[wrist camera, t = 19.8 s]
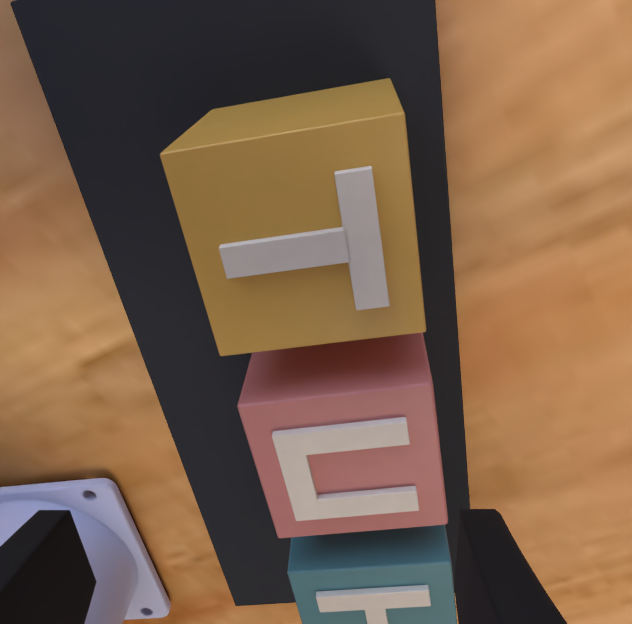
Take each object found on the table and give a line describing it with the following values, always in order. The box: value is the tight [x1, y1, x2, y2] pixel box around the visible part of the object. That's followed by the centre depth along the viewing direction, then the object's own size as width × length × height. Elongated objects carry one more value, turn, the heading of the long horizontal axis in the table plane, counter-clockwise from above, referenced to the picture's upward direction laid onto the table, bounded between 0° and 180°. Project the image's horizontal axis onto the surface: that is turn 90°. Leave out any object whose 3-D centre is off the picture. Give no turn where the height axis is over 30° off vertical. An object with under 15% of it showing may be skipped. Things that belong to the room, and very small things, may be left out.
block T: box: [160, 78, 426, 356], centre depth 14 cm, size 5×5×5 cm
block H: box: [287, 525, 457, 624], centre depth 19 cm, size 5×5×5 cm
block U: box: [237, 332, 448, 538], centre depth 16 cm, size 5×5×5 cm
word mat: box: [11, 0, 470, 606], centre depth 19 cm, size 10×23×1 cm, turn 10°
